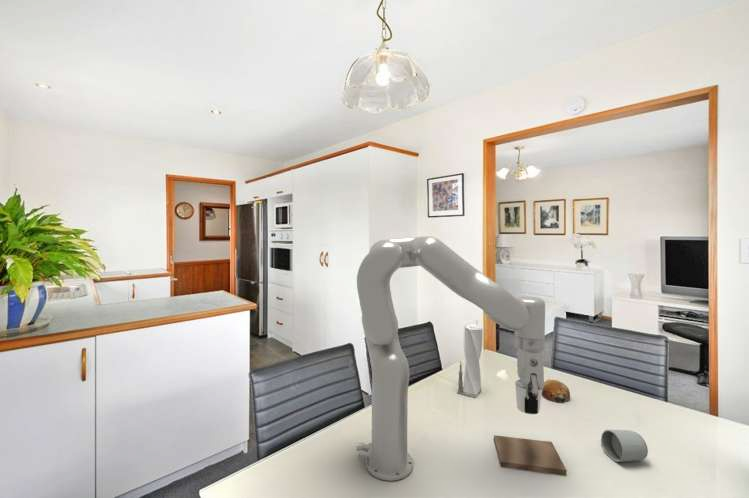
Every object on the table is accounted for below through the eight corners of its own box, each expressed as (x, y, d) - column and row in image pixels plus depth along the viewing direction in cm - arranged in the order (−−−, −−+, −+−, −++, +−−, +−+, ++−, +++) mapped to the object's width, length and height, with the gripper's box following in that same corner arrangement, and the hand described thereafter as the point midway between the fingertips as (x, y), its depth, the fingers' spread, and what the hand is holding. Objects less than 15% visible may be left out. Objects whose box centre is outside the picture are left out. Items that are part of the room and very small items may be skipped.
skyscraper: (465, 385, 138) (466, 317, 137) (485, 390, 133) (486, 320, 132) (457, 393, 131) (458, 322, 130) (477, 399, 126) (478, 325, 125)
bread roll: (569, 406, 129) (570, 384, 131) (569, 405, 121) (570, 381, 123) (541, 399, 134) (542, 378, 137) (538, 397, 126) (540, 375, 129)
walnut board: (500, 467, 89) (500, 461, 89) (493, 440, 101) (493, 435, 101) (566, 475, 86) (566, 469, 86) (551, 446, 98) (551, 441, 98)
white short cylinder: (545, 417, 89) (545, 391, 89) (517, 414, 90) (518, 388, 90) (538, 404, 96) (538, 380, 95) (512, 401, 97) (512, 378, 97)
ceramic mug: (650, 466, 90) (650, 437, 89) (622, 468, 89) (622, 439, 88) (617, 442, 100) (617, 417, 100) (592, 444, 99) (592, 418, 99)
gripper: (554, 354, 83) (552, 425, 84) (535, 334, 100) (534, 394, 101) (521, 352, 85) (520, 422, 85) (508, 332, 101) (507, 391, 102)
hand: (528, 406), depth 93 cm, fingers closed on white short cylinder, 5 cm apart
